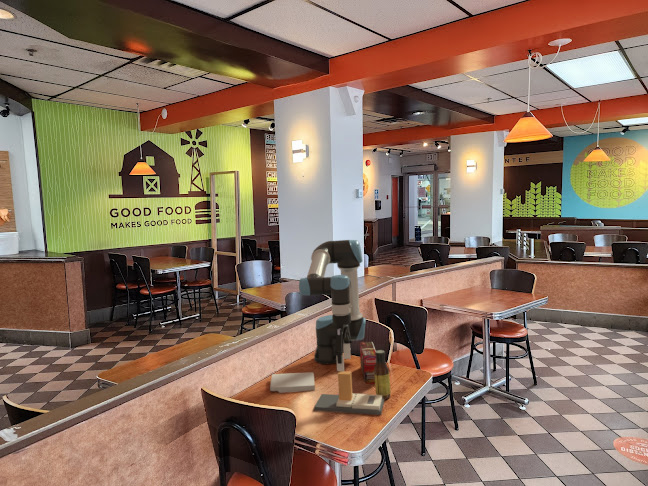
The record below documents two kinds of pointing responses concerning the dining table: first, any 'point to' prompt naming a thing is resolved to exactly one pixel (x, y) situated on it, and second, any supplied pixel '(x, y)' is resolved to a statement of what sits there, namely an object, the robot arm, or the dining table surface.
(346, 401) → the tan block with base
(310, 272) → the robot arm
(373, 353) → the ice cream box
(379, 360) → the sauce bottle
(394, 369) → the dining table surface
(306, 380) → the grey flat slab
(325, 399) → the mat
